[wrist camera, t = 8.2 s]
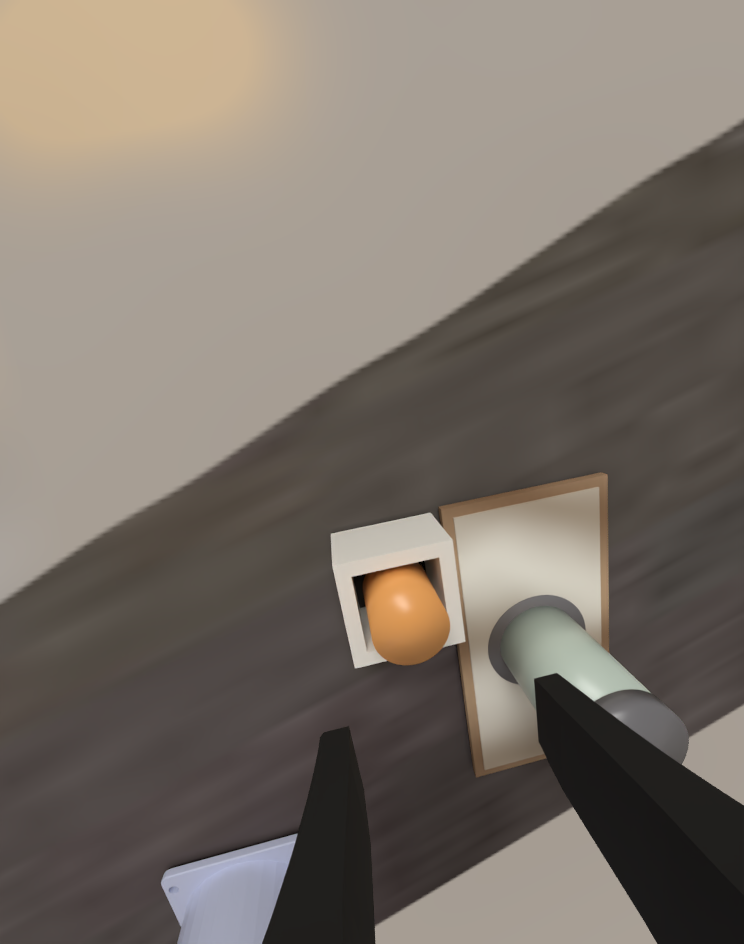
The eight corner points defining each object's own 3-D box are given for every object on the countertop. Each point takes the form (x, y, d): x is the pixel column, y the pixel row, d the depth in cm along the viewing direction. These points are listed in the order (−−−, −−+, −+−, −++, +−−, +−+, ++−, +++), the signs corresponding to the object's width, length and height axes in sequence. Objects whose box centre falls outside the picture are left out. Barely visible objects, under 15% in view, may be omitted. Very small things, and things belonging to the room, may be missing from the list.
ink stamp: (577, 665, 19) (685, 785, 13) (502, 683, 19) (580, 815, 13) (575, 596, 18) (691, 695, 12) (496, 615, 18) (578, 725, 12)
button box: (442, 599, 18) (465, 641, 15) (349, 621, 18) (355, 668, 15) (430, 512, 17) (452, 539, 14) (330, 533, 16) (332, 566, 14)
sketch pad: (604, 734, 22) (611, 743, 21) (473, 770, 21) (477, 780, 20) (601, 472, 17) (610, 475, 17) (438, 506, 17) (442, 510, 16)
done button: (431, 606, 16) (454, 654, 13) (368, 620, 16) (379, 673, 13) (422, 549, 16) (445, 587, 13) (357, 563, 15) (365, 605, 12)
